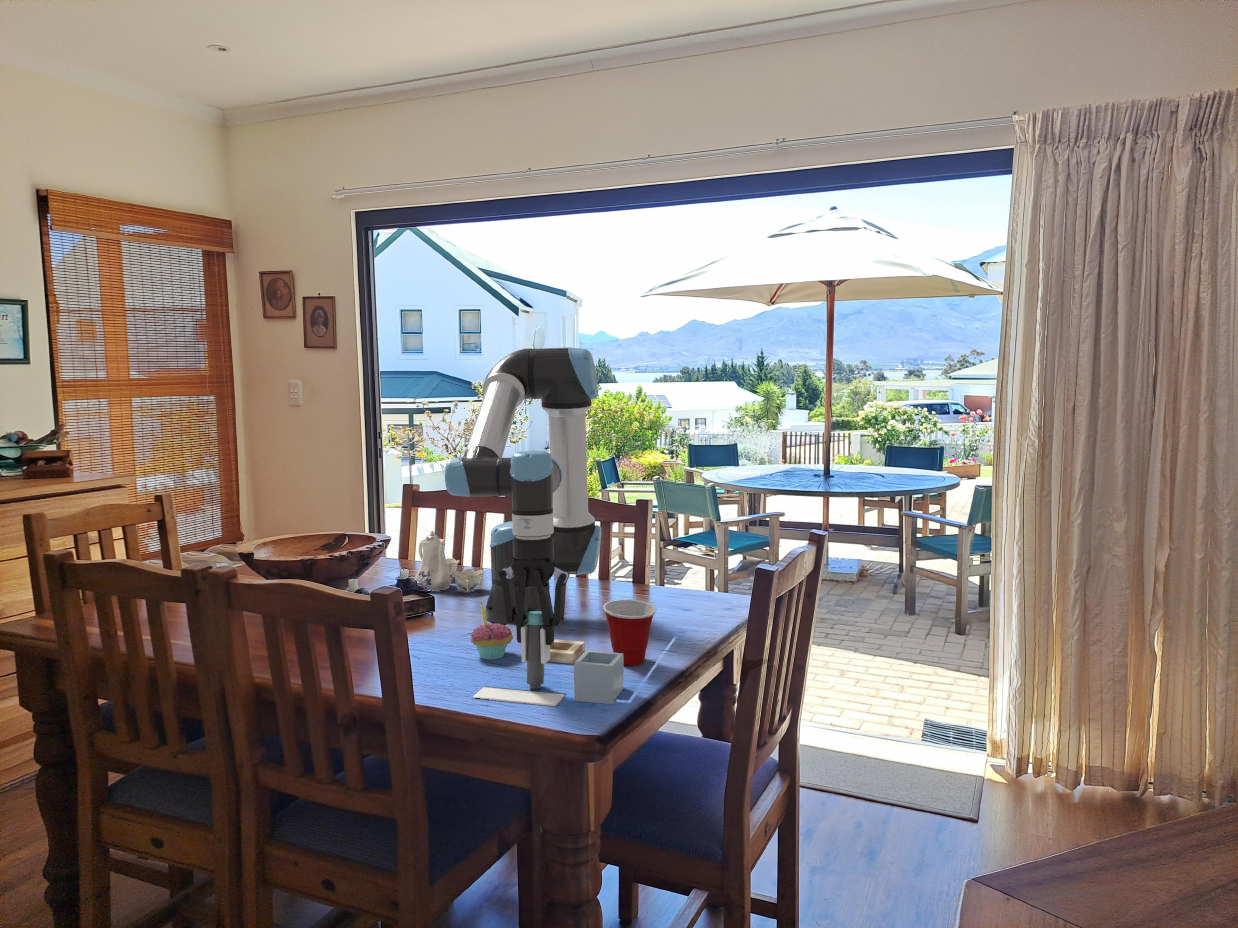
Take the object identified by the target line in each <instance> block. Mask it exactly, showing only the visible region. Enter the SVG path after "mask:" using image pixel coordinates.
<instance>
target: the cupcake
mask: <svg viewBox="0 0 1238 928" xmlns="http://www.w3.org/2000/svg"><path fill="white" fill-rule="evenodd" d="M480 611H481V615H482V616H481V617H482V620H483V624H482V625H479V626H477V627H476V628H474V630H473V631H472V632H471V635H470V642H471V643H472V644H473V645H475V647H476V650H477V652H478V655H479V658H480V659H483V660H497V659H500V658H503V657H504V656H505V653H506V649H507V647H508V644H510V643H512V641H513V639H514V637H513V633H512V631H511V628H509V627H508V626H506V624H500V623H494V622H490V623H489V622H487V621H488V620H487V619H486V615H485V606H484V605H483V603H482V601H480Z"/></svg>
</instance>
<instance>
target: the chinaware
mask: <svg viewBox="0 0 1238 928" xmlns="http://www.w3.org/2000/svg"><path fill="white" fill-rule="evenodd" d="M444 541H445V539H444V538H439V536H438V535H437V534H435V532H434V530H431V531H430V533H429V535H427V536H426V537H425V539H422V540H420V541H419V546H418V555H419V558H420V560H421V563H420V566H419V568H417V571H416V573H415V575H414V577H413V579H414V581H415V580H417V581H418V582H419V583H420V584H422V585H426V586H428V587H429V588H431V590H433V591H437V592H441V591H440V590H443V591H446V589H447V590H449V589H450V585H451V584H452V582H453V581H455V584H456V586H457V587H458V588H459V589H461V592H462V593H464V594H465V593H473V592H475V591H476V590H475V589H476V588H477V587H478V586H479V585H480V583H481V580H482V576H483V575H484V570H482V569H478V570H475V569H472V568H466V569H462V570H461V571H459V570H457V568H458V564H459V563H460V562H461V560H460V559H457V560H456V558H453V557H448V558H446V553H445V545H446V544H445V543H444Z"/></svg>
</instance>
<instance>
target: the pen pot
mask: <svg viewBox="0 0 1238 928" xmlns="http://www.w3.org/2000/svg"><path fill="white" fill-rule="evenodd" d="M624 667H625V666H624V664H623V653H613V651H612V652H611V651H610V652H609V651H600V650H599V651H598V650H586V649H585V652H584V653H583V654H582V655H581V656H580V657H579V658H578V659H577V660H576V661H575V662H574V663H573V691H574V692H573V694H574V701H575V702H582V703H583V702H585V703H594V704H604V705H605V704H606V705H614V704H615V703H616V701H617V700H618V698H617V697H618V696H619V695H620V693H621V692H622V691H623V689H624V685H625V684H624V683H625V680H624V679H625V678H624V675H625V674H624V672H625V671H624Z"/></svg>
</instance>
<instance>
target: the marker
mask: <svg viewBox="0 0 1238 928" xmlns="http://www.w3.org/2000/svg"><path fill="white" fill-rule="evenodd" d="M526 624H528V633H527V661H526V684H527V685H529V689H530V690H532V691H535V690H536V691H537V690H540V689H542V685H543V684H545V664H541V642H540V629H541V628H542V627H543V626H544V623H543V617H542V612H541V611H532V612H528V615H527V623H526Z"/></svg>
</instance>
